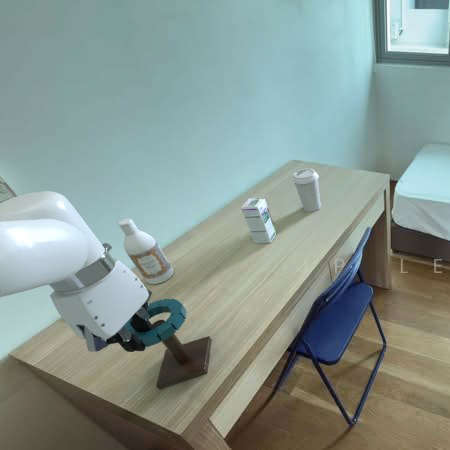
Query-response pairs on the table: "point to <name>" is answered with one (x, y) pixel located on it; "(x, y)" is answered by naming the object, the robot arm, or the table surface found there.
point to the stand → (182, 359)
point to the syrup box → (259, 220)
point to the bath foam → (145, 253)
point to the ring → (164, 329)
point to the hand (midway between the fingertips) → (143, 341)
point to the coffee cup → (307, 189)
